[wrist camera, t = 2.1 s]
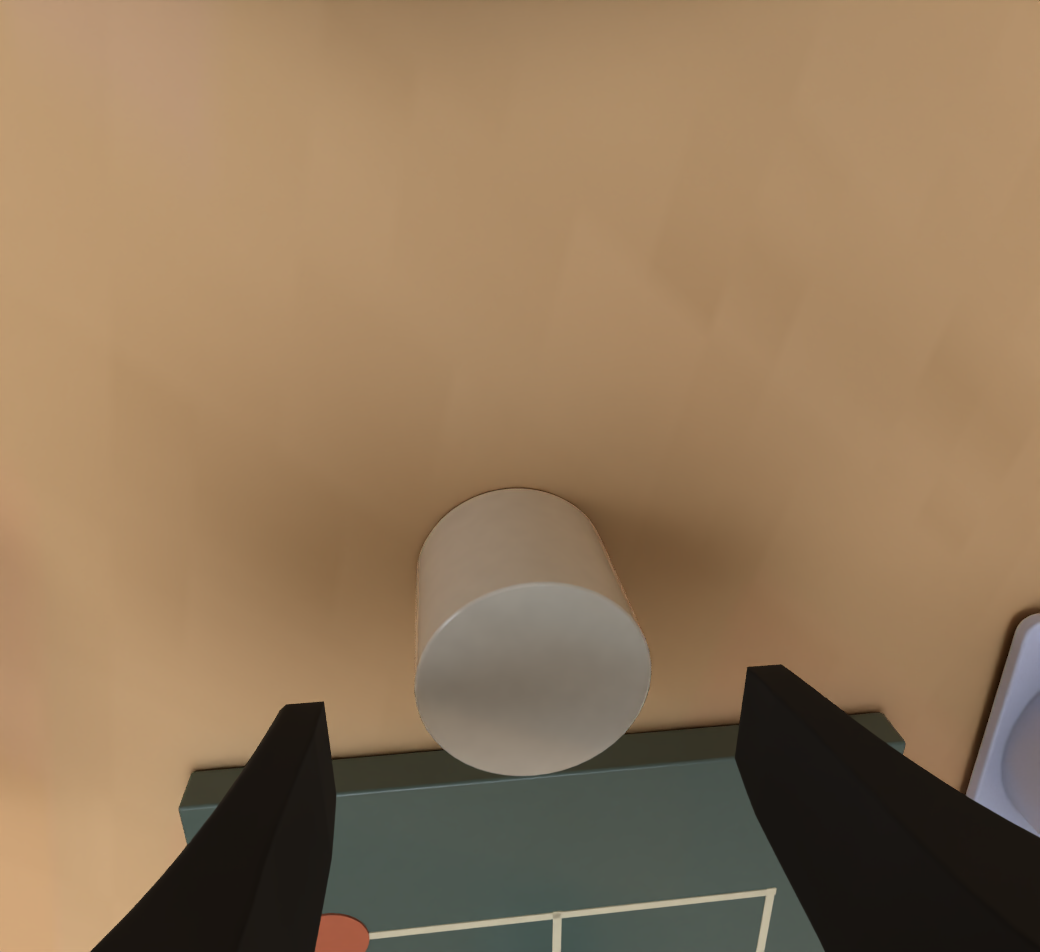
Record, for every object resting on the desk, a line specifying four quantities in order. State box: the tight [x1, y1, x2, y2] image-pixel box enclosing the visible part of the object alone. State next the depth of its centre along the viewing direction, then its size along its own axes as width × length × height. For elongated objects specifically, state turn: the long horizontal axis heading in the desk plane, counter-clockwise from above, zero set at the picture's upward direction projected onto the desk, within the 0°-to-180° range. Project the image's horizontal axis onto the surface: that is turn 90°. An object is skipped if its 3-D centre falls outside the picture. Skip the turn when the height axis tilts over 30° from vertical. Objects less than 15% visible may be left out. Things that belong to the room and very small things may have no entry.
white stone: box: [414, 488, 651, 776], centre depth 16 cm, size 4×4×4 cm
